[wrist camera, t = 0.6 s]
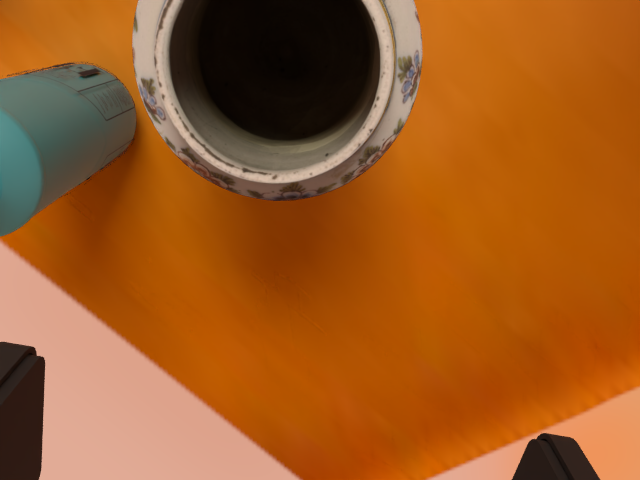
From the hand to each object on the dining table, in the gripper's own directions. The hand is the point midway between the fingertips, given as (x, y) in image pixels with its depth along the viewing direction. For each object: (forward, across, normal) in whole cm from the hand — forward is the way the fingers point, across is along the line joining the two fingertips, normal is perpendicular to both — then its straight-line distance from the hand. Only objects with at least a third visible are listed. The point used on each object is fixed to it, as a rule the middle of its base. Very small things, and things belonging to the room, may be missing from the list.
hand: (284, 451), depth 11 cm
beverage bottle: (+30, +14, +1) cm, 33 cm away
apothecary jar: (+30, +2, -6) cm, 30 cm away
